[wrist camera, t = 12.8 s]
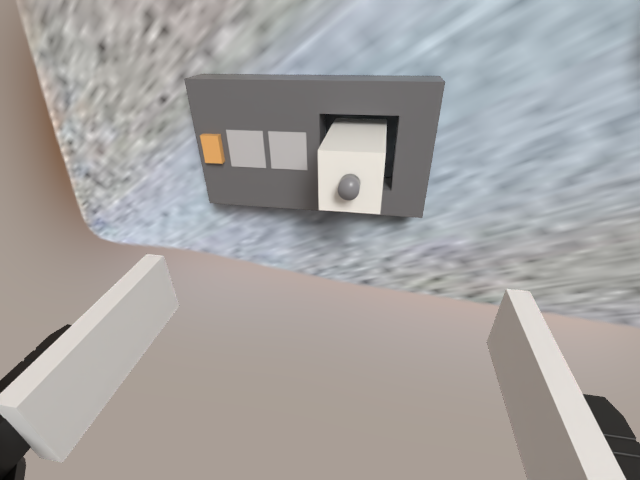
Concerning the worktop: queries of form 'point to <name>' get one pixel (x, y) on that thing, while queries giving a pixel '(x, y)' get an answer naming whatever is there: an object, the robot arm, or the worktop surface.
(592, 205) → the worktop surface
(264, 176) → the power strip
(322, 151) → the block
